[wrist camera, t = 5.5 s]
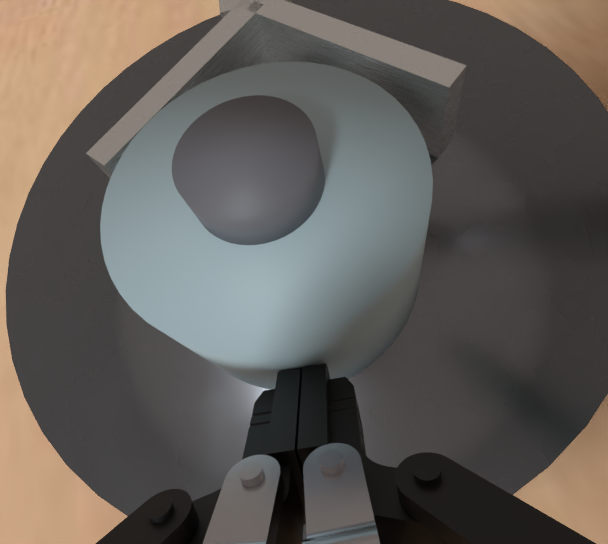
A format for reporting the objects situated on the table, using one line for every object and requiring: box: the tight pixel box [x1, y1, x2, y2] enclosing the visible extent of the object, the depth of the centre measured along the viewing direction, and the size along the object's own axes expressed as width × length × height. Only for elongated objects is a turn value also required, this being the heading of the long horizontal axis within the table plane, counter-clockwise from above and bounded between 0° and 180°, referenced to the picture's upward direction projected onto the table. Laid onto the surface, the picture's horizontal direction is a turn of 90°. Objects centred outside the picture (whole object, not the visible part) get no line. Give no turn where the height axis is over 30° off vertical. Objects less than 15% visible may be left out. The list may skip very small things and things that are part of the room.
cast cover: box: [100, 61, 433, 389], centre depth 15 cm, size 10×10×8 cm
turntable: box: [6, 0, 608, 540], centre depth 19 cm, size 28×28×6 cm
